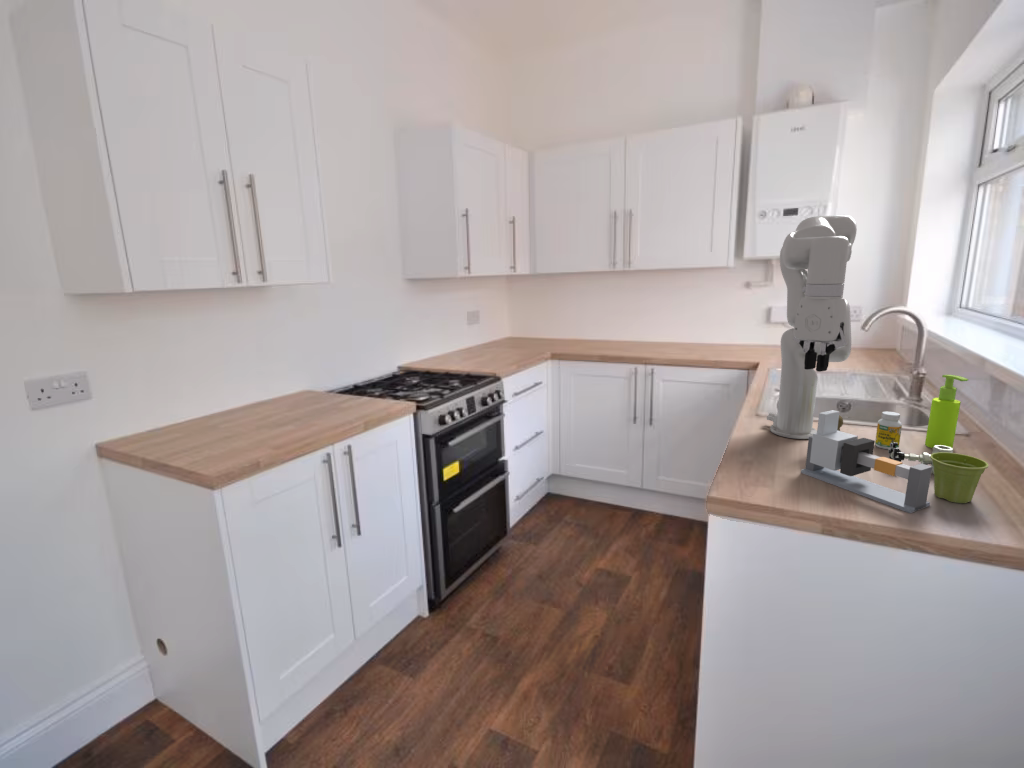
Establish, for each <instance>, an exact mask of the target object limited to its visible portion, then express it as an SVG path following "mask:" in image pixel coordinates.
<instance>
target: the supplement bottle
mask: <svg viewBox="0 0 1024 768" xmlns="http://www.w3.org/2000/svg"><path fill="white" fill-rule="evenodd" d="M900 419H901V414H900V413H898V412H895V411H882V412H881V418H880V419H879V420H878V421H877V426H876V434H875V440H874V441H875V443H874V446H876V447H877V448H880V449H883V450H889V449H890V443H893V442H895V443H898V446H895V447H896V448H899V449H900V441H901V435H902V429H903V424H902V422H901V421H900Z"/></svg>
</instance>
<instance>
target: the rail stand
mask: <svg viewBox="0 0 1024 768" xmlns="http://www.w3.org/2000/svg"><path fill="white" fill-rule="evenodd" d="M812 438H813V436H810V437H809V439H807V440H808V441H807V442H808V443H807V449H806V450H807V451H806V457H805V458H806V461H805V468H801V470H800V473H801V474H803V475H806V476H808V477H811V478H814V479H817V480H820V481H822V482H825V483H827V484H831V485H833V486H836V487H839V488H841V489H843V490H847V491H849V492H851V493H855V494H857V495H861V496H863V497H865V498H869V499H870V500H874V501H875V502H879V503H881V504H883V505H886V506H890V507H892V508H894V509H898V510H900V511H903V512H905V513H908V514H912V513H915V512H917V511H919V510H923V509H925V508H929V507H930V506H931V505H930V504H931V502H930V501H928V496H929V495H928V494H929V490H930V489H929V488H930V482H931V478H932V477H931V476H932V473H931V472H932V466H931V465H929V464H928V465H925V464H921V463H918V464H915V465H911V466H910V465H907V464H905V463H903V462H902V461H901V462H899V461H896V460H892V459H889V457H885V456H879V455H874V454H873V455H872V454H868V453H865V452H861V451H859V452H858V458H857V463H858V464H861V465H864V466H867V467H870V468H871V469H873V470H874V471H877V472H879V473H882V474H885V475H889V476H891V477H895V476H896V477H899V478H902V479H905V480H907V483H906V490H905V493H904V492H902V491H899V490H895V489H892V488H890V487H887V486H884V485H880V484H878V483H876V482H872V481H869V480H866V479H864V478H861V477H858V476H856V475H854V476H848V475H845V474H842V473H840V470H836V471H833V470H830V469H828V468H825V467H822V466H819V465H816V464H813V463H810V456H811V447H812ZM842 453H843V446H842V449H841V457H840V458H842Z"/></svg>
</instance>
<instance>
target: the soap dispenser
mask: <svg viewBox="0 0 1024 768" xmlns="http://www.w3.org/2000/svg"><path fill="white" fill-rule="evenodd" d="M942 378H945V382H944V385H942V386H940V387H939V393H938V397H933V398H932V399H931V405H930V411H929V416H928V417H929V418H928V423H927V429H926V436H925V441H924V445H925V446H926V447H928V448H931V449H933V447H934V446H935V445H943V446H948V447H951V448H952V449H953V450H954V448H953V447H954V443H955V437H956V432H957V431H956V430H957V425H958V419H959V413H960V407H961V403H962V401H960V400H958V399H956V396H957V390H958V389H957V387H955V386H954V383H955V380H957V381H960V382H967V381H969V379H968V378H966V377H963V376H961V375H954V374H942Z"/></svg>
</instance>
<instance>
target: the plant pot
mask: <svg viewBox="0 0 1024 768" xmlns="http://www.w3.org/2000/svg"><path fill="white" fill-rule="evenodd" d="M930 458H931V459H932V463H933V465H934V474H933V481H934V482H933V483H934V485H933V489H934V490H933V491H934V495H935V496H936V497H937V498H939V499H945V500H947V502H951V503H956V504H957V503H958V504H967V503H968V502H972V500H973V498H974V496H975V491H976V489H977V487H978V484H979V481H980V480H981V476H982V475H983V474H984V472H985V470H986V469H988V468H989V463H988V462H987V461H985V460H983V459H980V458H978V457H974V456H972V455H968V454H962V453H956V452H953V453H947V452H938V453H931V454H930Z"/></svg>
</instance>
